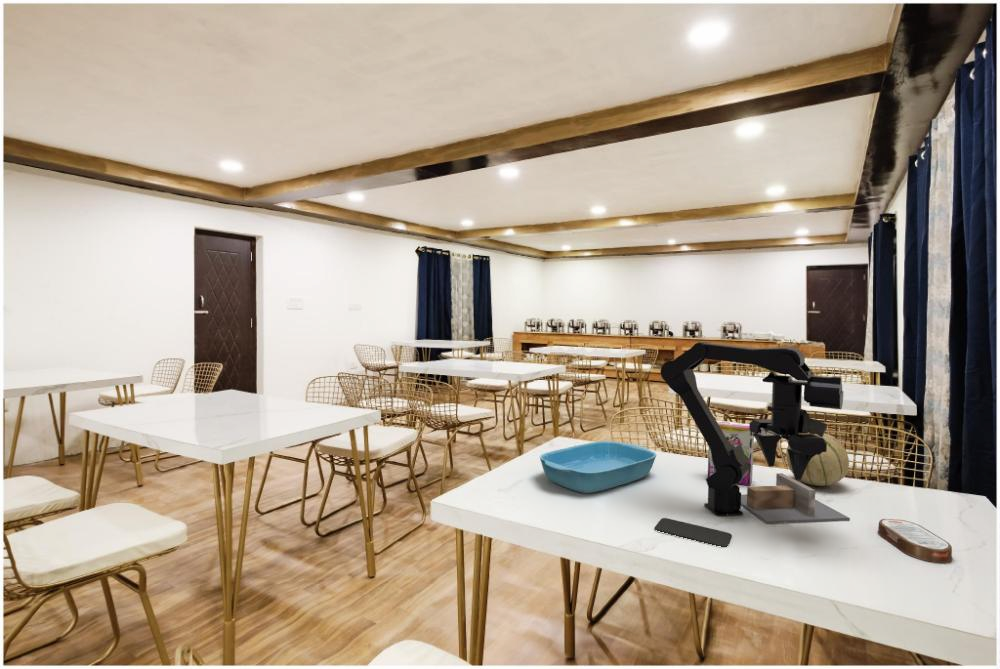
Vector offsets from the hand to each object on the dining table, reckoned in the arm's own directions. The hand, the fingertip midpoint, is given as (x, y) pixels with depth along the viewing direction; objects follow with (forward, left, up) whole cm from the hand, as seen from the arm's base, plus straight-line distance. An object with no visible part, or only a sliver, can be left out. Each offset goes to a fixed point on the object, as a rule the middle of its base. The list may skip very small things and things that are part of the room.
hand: (784, 472), depth 114 cm
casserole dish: (-32, +35, -12) cm, 49 cm away
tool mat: (+7, +9, -12) cm, 17 cm away
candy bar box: (+4, +29, -12) cm, 32 cm away
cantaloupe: (+26, +24, -12) cm, 37 cm away
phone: (-22, -2, -13) cm, 25 cm away
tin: (+17, -11, -10) cm, 22 cm away
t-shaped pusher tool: (+3, +9, -11) cm, 15 cm away
